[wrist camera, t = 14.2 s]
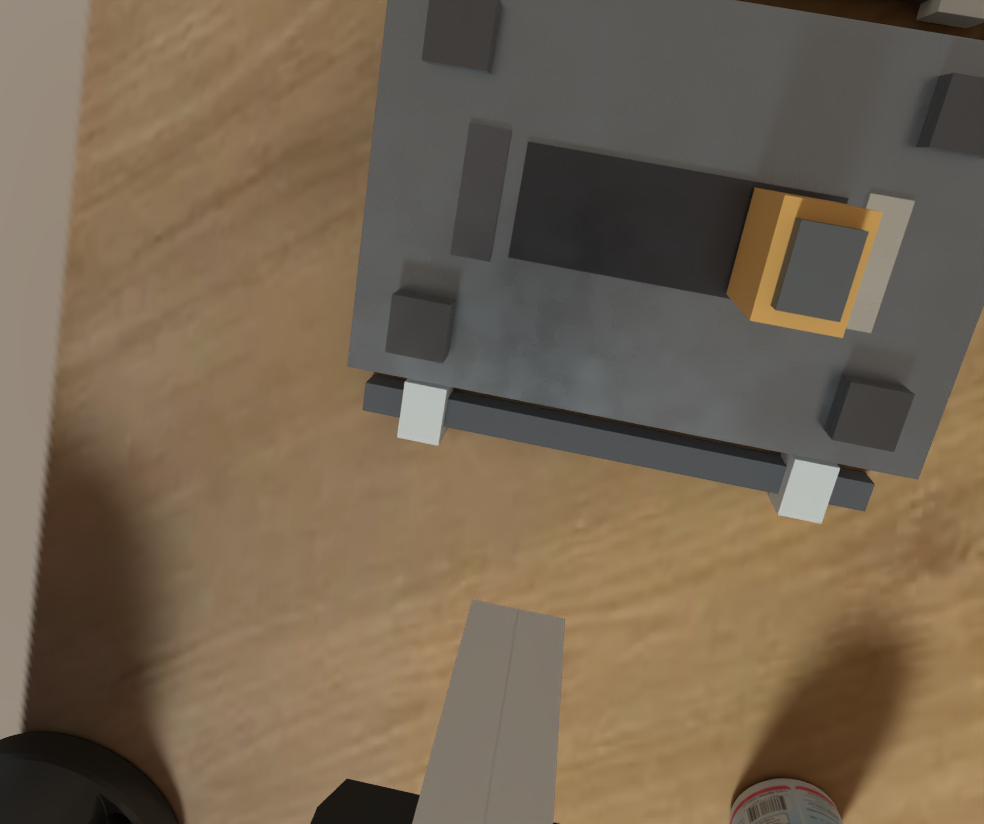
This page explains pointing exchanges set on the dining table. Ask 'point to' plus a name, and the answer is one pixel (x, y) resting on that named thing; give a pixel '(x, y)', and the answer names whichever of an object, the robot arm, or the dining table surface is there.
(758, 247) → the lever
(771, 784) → the pill bottle
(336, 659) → the dining table surface
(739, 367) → the panel
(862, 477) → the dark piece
